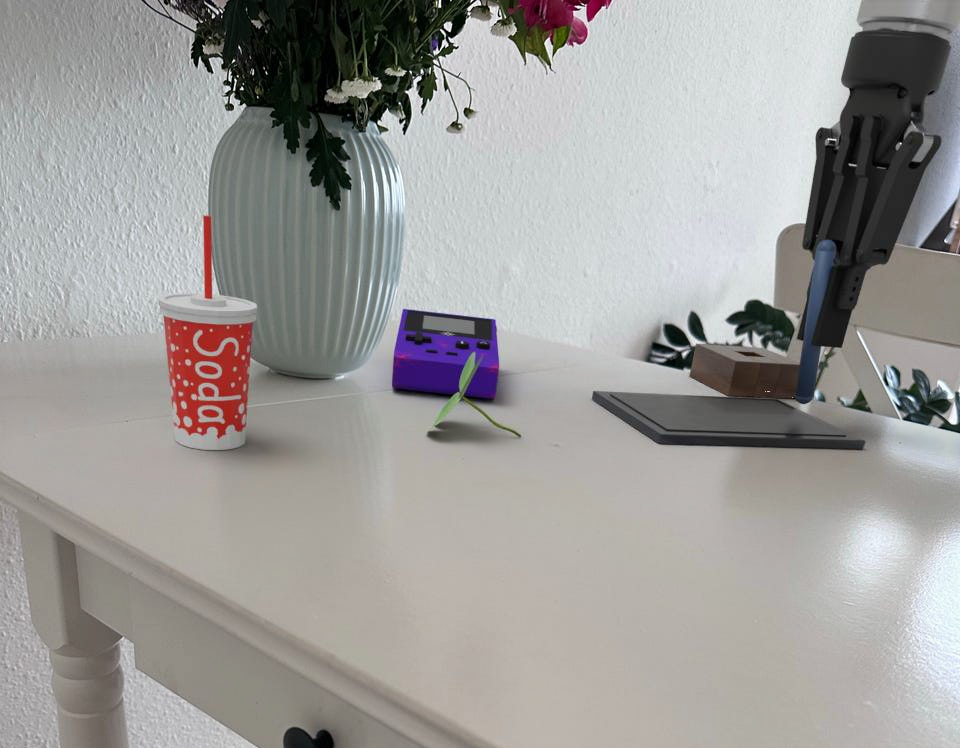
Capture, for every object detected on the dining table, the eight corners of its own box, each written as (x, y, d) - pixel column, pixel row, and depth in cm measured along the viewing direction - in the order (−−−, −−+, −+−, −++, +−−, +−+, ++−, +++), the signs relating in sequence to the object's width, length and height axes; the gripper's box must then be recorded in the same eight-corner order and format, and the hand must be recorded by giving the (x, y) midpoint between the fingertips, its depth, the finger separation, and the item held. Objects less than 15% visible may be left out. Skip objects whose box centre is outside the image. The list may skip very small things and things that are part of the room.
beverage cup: (152, 448, 62) (141, 213, 56) (175, 423, 68) (169, 206, 61) (247, 457, 63) (248, 226, 56) (263, 432, 68) (266, 218, 62)
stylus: (805, 400, 89) (830, 238, 82) (815, 405, 88) (841, 240, 81) (790, 402, 89) (813, 239, 82) (800, 407, 87) (824, 241, 80)
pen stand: (755, 379, 107) (763, 347, 106) (798, 399, 100) (807, 365, 99) (689, 376, 105) (695, 343, 103) (728, 395, 98) (736, 361, 96)
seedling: (474, 495, 76) (407, 446, 74) (516, 421, 79) (453, 372, 77) (518, 465, 70) (446, 409, 68) (561, 386, 73) (493, 330, 71)
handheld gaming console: (392, 351, 81) (402, 303, 93) (388, 410, 84) (398, 357, 96) (502, 363, 81) (497, 314, 94) (494, 422, 84) (491, 367, 97)
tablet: (775, 407, 96) (777, 398, 95) (863, 449, 84) (866, 439, 83) (591, 399, 89) (592, 389, 89) (658, 443, 78) (660, 433, 77)
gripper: (808, 31, 80) (740, 324, 91) (927, 19, 68) (832, 359, 78) (882, 45, 82) (807, 329, 93) (1010, 36, 70) (907, 364, 81)
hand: (818, 342), depth 86 cm, fingers closed on stylus, 1 cm apart
